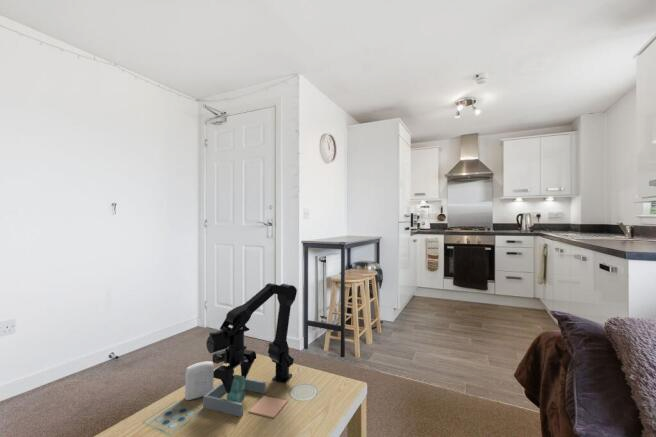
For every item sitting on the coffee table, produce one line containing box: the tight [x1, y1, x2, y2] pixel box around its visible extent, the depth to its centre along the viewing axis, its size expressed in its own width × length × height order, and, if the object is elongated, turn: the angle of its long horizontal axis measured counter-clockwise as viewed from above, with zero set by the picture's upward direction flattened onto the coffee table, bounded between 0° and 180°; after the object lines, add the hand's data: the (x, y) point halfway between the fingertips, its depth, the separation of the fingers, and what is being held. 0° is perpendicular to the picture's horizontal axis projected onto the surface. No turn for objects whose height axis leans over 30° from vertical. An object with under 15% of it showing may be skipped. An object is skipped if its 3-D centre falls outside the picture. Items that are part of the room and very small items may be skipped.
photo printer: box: [184, 360, 215, 401], centre depth 116 cm, size 10×4×12 cm, turn 123°
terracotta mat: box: [248, 395, 288, 419], centre depth 108 cm, size 10×10×1 cm
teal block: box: [226, 373, 246, 403], centre depth 113 cm, size 4×4×8 cm
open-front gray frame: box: [202, 377, 267, 418], centre depth 113 cm, size 16×16×4 cm
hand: (236, 386), depth 113 cm, fingers open, 9 cm apart
